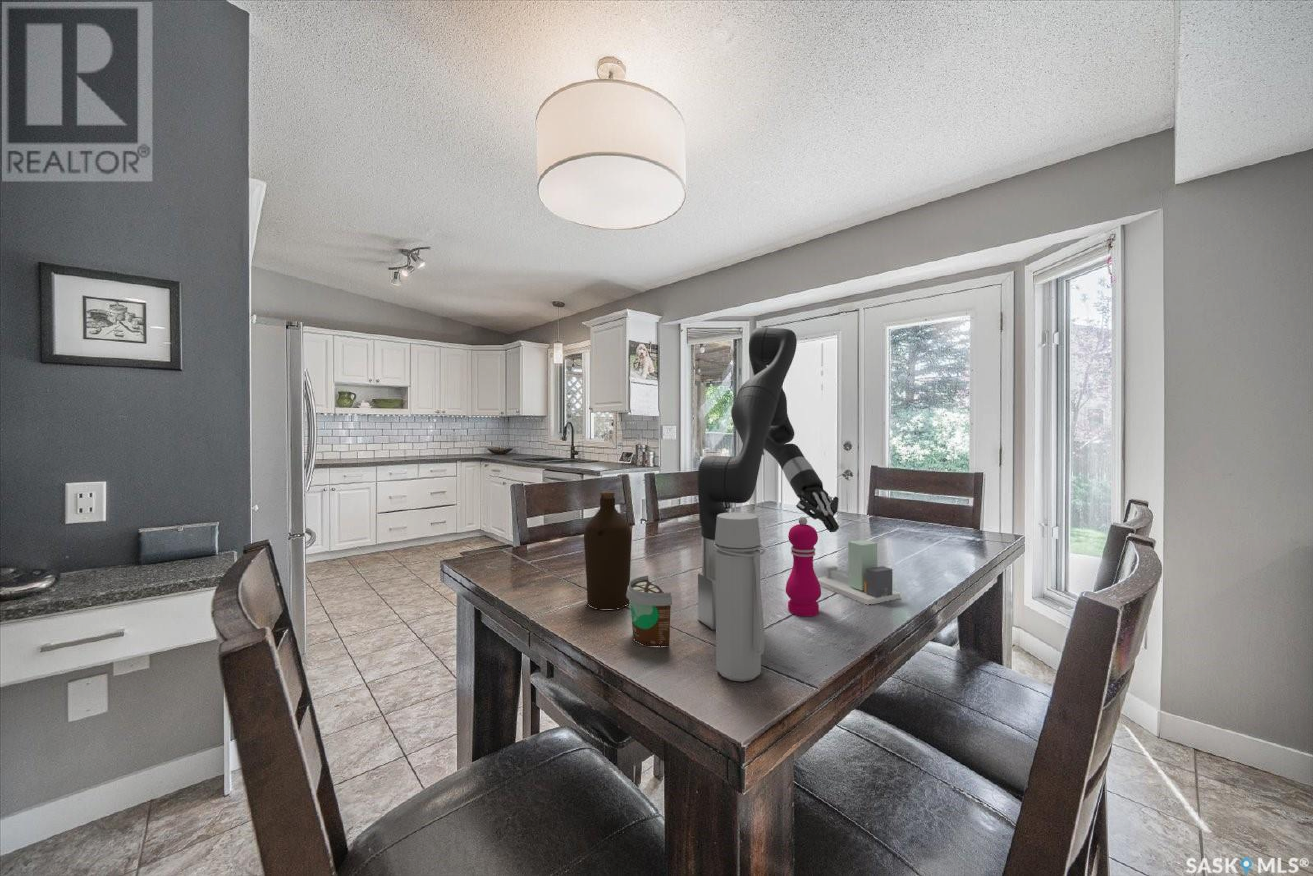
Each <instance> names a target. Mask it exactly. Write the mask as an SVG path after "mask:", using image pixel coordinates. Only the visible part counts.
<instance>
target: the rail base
mask: <svg viewBox="0 0 1313 876" xmlns="http://www.w3.org/2000/svg"><path fill="white" fill-rule="evenodd" d="M817 579H818V581H819V584H820V587H821V586H823V587H822V588H824V587H825V589H826V588H827V589H826V590H829V591H831V592H834V591H835V592H834V593H837V594H839V595H842V596H844V595H845V597H846V596H847V597H846V598H849V599H852V600H854V601H856V600H857V602H858V603H861V604H864V605H866V604H867V605H866V606H869V604H871V605H874V604H879V603H885V601H886V602H889V601H890V600H891V601H896V600H900V599H901V596H902V595H901V593H900V592H897V591H895V590H893V568H891V567H887V566H883V565H882V566H877V567H874V568H868V569H866V581H864V590H862V591H861V590H859V589H856V588H853V587H851V586H848V573H846V572H844V571H840V570H839V567H838V566H835V565H833V566H831V565H830V566H825V567H824V576H823V577H817Z"/></svg>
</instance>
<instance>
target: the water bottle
mask: <svg viewBox="0 0 1313 876" xmlns="http://www.w3.org/2000/svg"><path fill="white" fill-rule="evenodd" d="M759 524H760V523H759V515H757V514H755V513H750V512H748V513H747V512H734V511H733V512H729V513H722V514H718V515H717V521H716V532H715V542H714V546H715V547H716V548H717V549H716V551H715V570H716V629H715V669H716V670H717V671H718V673H719V674H720V675H721V676H722V677H723V678H725V679H727V680H730V681H735V682H746V681H747V682H748V681H752V680H754V679H756V678H757V677H758V676H760V674H761V671H762V654H764V650H765V642H766V641H765V640H766V636H765V634H766V633H765V625H764V613H763V612H764V611H763V601H762V589H761V556H762V555H764V554H765V553H766V551H767V550H766V547H765V546H764V545H763V544H762V543H761V534H760V525H759ZM761 548H762V551H761V550H760V549H761Z"/></svg>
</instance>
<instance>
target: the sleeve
mask: <svg viewBox="0 0 1313 876" xmlns="http://www.w3.org/2000/svg"><path fill="white" fill-rule="evenodd" d="M847 544H848V546H847V553H848V557H847V558H848V561H847V563H848V565H847V566H848V569H847V570H848V573H847V574H848V586H851V587H853V588H856V589H859V590H861V591H862V590H864V581H866V569H868V568H874V567H878V543H877V542H874V541H870V540H866V539H859V540H851V541H848V543H847Z"/></svg>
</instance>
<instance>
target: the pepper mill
mask: <svg viewBox="0 0 1313 876" xmlns="http://www.w3.org/2000/svg"><path fill="white" fill-rule="evenodd" d="M787 537H788V541H789V543H790V544H791V546H790V550H791V551H790V554H791V555H792V557H793V559H792V560H793V561H792V564H793V565H792V568H791V572H790V574H789V577H788V578H787V580H786V584H785V593H786V595H787V597H788V598H789V600H788V601H787V610H788V612H789V613H791V614H792V615H795V616H799V617H814V616H817V615H818V614H819V613H820V607H819V606H820V604H819V603H818V600H819V599H820V598H821V596H822V587H821V586H820V584H819V581H818V579H817V578H818V577H817V575H816V572H815V569H814V556H816V548H815V545H817V543H818V540H819V535H818V532H817V530H816V529H815V528H814V527H813V526H811V525H809V524H808V519H807V517H805V516H801V517H799V518H798V524H795V525H793V526H792V527H791V528H790V529H789V531H788V536H787Z"/></svg>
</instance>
